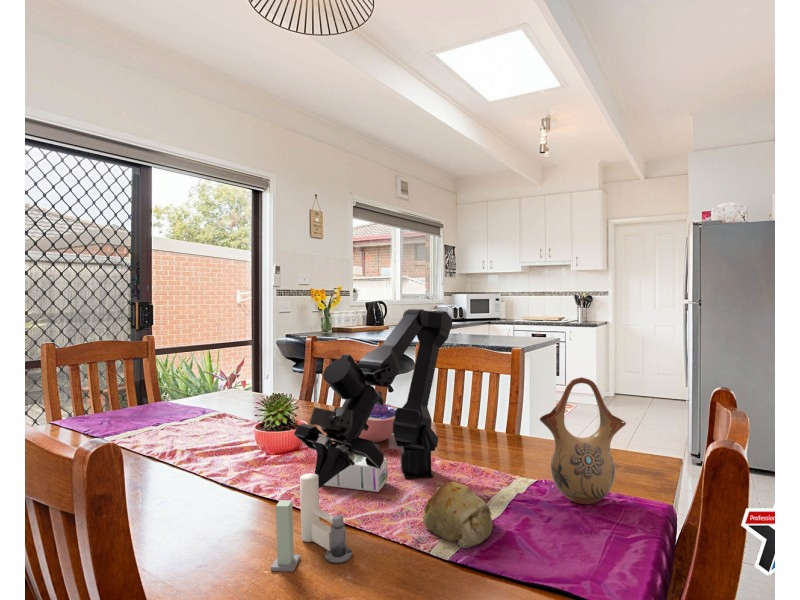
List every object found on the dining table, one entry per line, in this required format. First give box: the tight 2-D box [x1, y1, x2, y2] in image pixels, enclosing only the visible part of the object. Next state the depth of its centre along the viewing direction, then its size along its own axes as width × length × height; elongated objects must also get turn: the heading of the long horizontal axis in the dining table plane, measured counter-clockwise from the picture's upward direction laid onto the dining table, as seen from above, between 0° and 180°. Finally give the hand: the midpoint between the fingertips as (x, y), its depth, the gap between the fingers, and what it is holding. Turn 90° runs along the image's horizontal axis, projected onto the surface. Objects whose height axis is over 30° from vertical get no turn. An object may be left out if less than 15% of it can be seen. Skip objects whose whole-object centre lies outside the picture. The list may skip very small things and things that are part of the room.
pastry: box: [422, 480, 494, 549], centre depth 88 cm, size 14×12×8 cm
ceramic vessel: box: [539, 377, 627, 505], centre depth 97 cm, size 16×9×25 cm, turn 77°
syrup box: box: [323, 455, 388, 493], centre depth 108 cm, size 6×6×14 cm
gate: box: [299, 472, 345, 551], centre depth 83 cm, size 10×3×11 cm, turn 45°
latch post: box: [270, 499, 301, 573], centre depth 77 cm, size 4×4×10 cm
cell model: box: [359, 402, 398, 443], centre depth 138 cm, size 17×20×11 cm
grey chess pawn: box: [324, 523, 353, 565], centre depth 80 cm, size 4×4×5 cm
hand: (315, 487), depth 87 cm, fingers closed, pressing on gate
